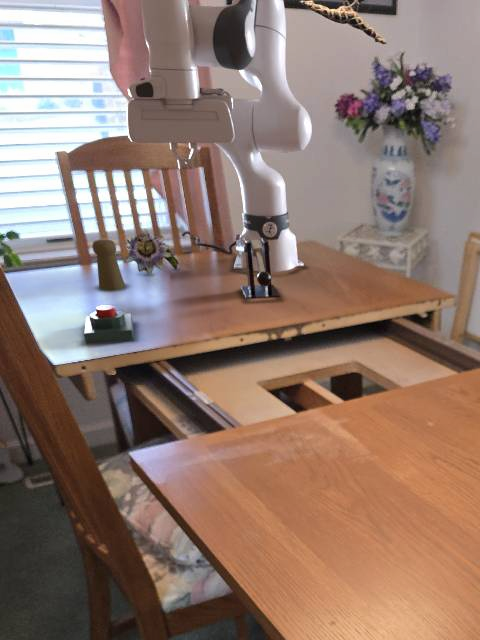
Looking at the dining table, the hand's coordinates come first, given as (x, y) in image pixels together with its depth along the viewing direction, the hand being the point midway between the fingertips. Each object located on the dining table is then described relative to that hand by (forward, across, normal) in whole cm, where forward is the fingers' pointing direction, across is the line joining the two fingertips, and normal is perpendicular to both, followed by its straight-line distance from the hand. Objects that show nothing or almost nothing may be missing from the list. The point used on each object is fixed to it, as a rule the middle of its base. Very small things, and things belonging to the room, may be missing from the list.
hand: (186, 168), depth 142 cm
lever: (+22, -14, -6) cm, 27 cm away
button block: (+29, +20, +10) cm, 37 cm away
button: (+26, +20, +10) cm, 34 cm away
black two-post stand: (+29, -14, -10) cm, 34 cm away
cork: (+29, +20, -24) cm, 43 cm away
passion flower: (+29, +10, -38) cm, 49 cm away
